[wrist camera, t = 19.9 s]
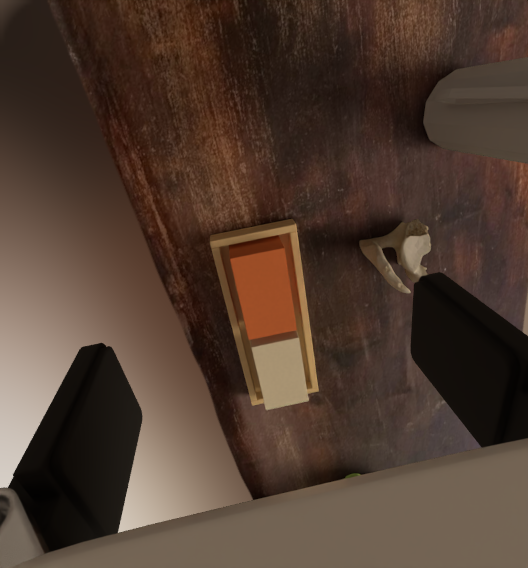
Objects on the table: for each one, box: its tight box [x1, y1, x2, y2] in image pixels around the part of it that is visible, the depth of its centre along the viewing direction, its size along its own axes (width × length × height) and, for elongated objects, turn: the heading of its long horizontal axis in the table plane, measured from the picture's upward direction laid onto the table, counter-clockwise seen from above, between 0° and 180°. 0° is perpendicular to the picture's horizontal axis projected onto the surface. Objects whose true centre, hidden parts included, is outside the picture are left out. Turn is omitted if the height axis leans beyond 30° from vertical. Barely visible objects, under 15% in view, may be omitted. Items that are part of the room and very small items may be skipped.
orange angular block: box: [229, 235, 297, 340], centre depth 38 cm, size 10×6×4 cm, turn 10°
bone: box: [359, 219, 431, 293], centre depth 37 cm, size 9×6×10 cm
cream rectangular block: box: [250, 330, 309, 410], centre depth 43 cm, size 10×6×4 cm, turn 10°
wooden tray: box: [210, 219, 319, 405], centre depth 42 cm, size 24×9×2 cm, turn 10°
